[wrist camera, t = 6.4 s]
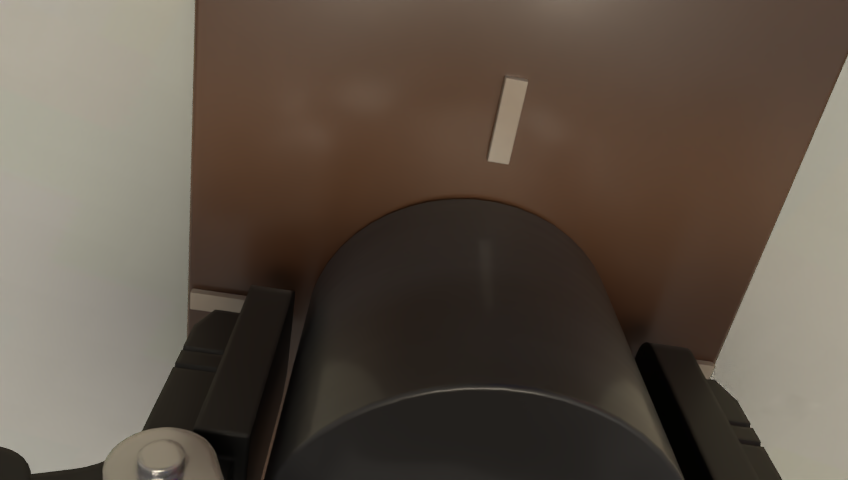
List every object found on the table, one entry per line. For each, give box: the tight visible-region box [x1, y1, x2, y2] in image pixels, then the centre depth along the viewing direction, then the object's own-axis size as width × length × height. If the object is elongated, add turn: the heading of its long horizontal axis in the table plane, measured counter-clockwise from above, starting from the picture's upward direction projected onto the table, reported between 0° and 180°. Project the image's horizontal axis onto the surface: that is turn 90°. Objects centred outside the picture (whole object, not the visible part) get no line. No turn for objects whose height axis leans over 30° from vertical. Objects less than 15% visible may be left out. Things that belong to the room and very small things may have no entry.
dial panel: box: [187, 0, 848, 480], centre depth 15 cm, size 14×10×3 cm
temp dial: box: [264, 199, 685, 480], centre depth 11 cm, size 6×6×5 cm
